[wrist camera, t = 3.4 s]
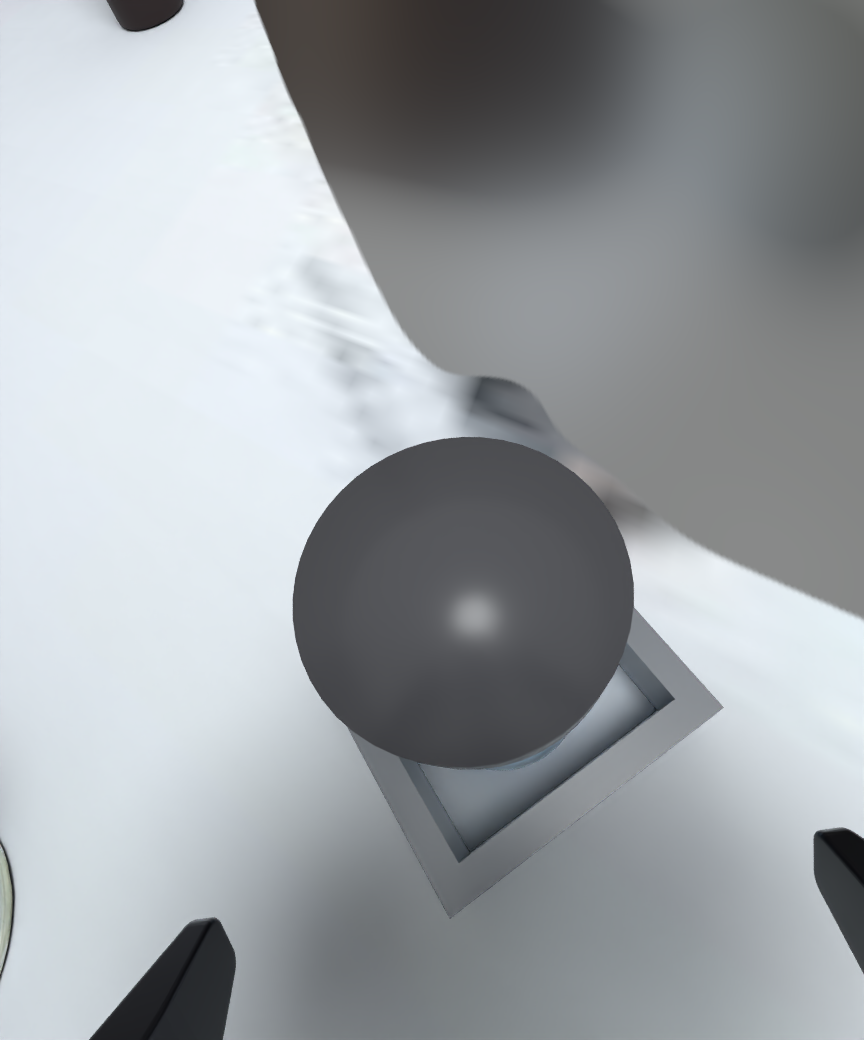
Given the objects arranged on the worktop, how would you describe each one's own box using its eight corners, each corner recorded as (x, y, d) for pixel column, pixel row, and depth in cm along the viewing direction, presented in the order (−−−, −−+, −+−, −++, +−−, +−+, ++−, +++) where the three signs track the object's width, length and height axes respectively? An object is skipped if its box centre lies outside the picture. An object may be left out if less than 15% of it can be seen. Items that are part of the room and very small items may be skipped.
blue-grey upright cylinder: (475, 816, 20) (400, 854, 9) (380, 659, 23) (241, 550, 12) (624, 704, 21) (716, 617, 10) (514, 566, 24) (492, 386, 13)
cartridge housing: (462, 900, 19) (449, 918, 16) (324, 649, 23) (296, 632, 21) (699, 717, 20) (723, 707, 17) (522, 513, 25) (519, 480, 22)
